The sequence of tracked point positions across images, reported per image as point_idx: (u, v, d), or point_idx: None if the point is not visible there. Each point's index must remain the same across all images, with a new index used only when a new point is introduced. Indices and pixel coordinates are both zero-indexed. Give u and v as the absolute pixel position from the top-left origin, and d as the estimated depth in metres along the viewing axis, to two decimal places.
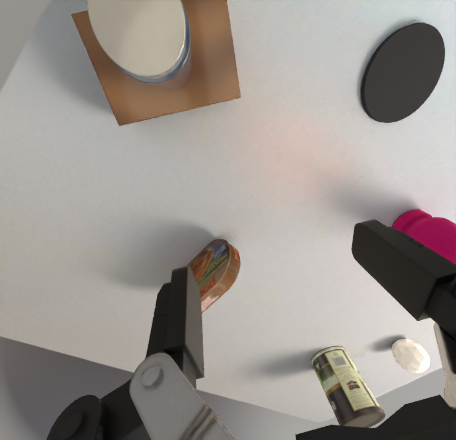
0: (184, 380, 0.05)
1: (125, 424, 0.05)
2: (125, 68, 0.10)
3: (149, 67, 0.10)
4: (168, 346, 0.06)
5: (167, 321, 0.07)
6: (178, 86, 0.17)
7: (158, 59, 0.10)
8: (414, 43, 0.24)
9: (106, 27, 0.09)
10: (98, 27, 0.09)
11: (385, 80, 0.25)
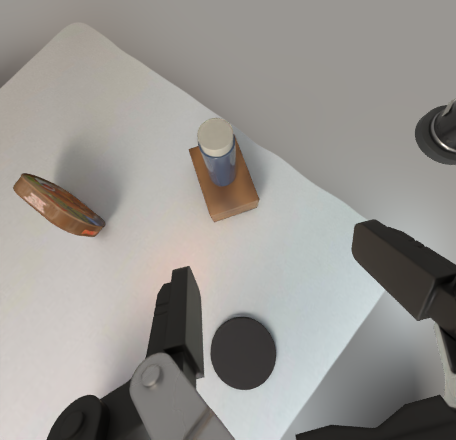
0: (184, 380, 0.05)
1: (125, 424, 0.05)
2: (199, 128, 0.24)
3: (200, 137, 0.23)
4: (168, 346, 0.06)
5: (167, 321, 0.07)
6: (209, 175, 0.31)
7: (203, 140, 0.23)
8: (263, 349, 0.32)
9: (211, 123, 0.24)
10: (210, 120, 0.24)
11: (238, 336, 0.33)
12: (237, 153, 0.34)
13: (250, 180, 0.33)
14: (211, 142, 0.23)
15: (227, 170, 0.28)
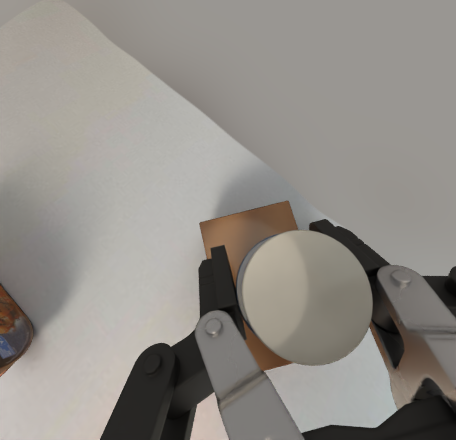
0: (240, 340, 0.06)
1: (191, 380, 0.06)
2: (249, 265, 0.07)
3: (253, 300, 0.07)
4: (222, 306, 0.07)
5: (216, 287, 0.08)
6: None
7: (265, 316, 0.06)
8: None
9: (292, 248, 0.07)
10: (290, 239, 0.07)
11: None
12: None
13: None
14: (293, 328, 0.06)
15: None
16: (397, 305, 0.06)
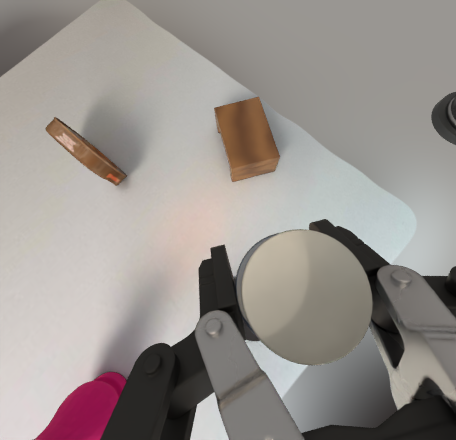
0: (241, 340, 0.06)
1: (191, 381, 0.06)
2: (249, 264, 0.07)
3: (253, 300, 0.07)
4: (222, 306, 0.07)
5: (216, 287, 0.08)
6: None
7: (264, 316, 0.06)
8: None
9: (292, 248, 0.07)
10: (290, 238, 0.07)
11: None
12: (261, 114, 0.35)
13: (272, 139, 0.34)
14: (293, 328, 0.06)
15: None
16: (397, 305, 0.06)
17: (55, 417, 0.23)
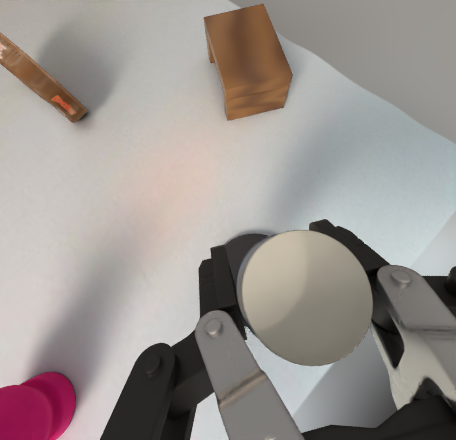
0: (240, 340, 0.06)
1: (191, 381, 0.06)
2: (249, 265, 0.07)
3: (253, 301, 0.06)
4: (222, 306, 0.07)
5: (216, 287, 0.08)
6: None
7: (264, 316, 0.06)
8: None
9: (292, 248, 0.07)
10: (290, 239, 0.07)
11: None
12: (266, 23, 0.26)
13: (282, 53, 0.25)
14: (293, 329, 0.06)
15: None
16: (397, 305, 0.06)
17: None
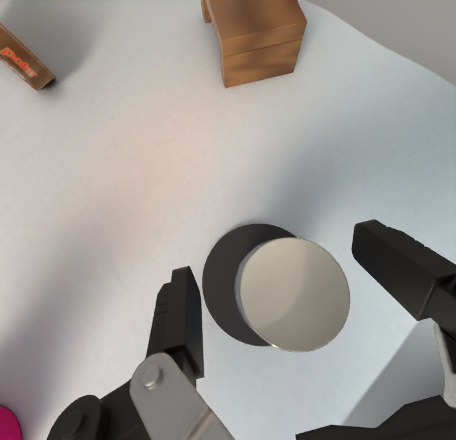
0: (184, 380, 0.05)
1: (125, 424, 0.05)
2: (246, 267, 0.08)
3: (249, 298, 0.08)
4: (168, 346, 0.06)
5: (167, 321, 0.07)
6: None
7: (259, 311, 0.08)
8: None
9: (282, 253, 0.08)
10: (281, 245, 0.08)
11: None
12: None
13: None
14: (283, 321, 0.07)
15: None
16: None
17: None
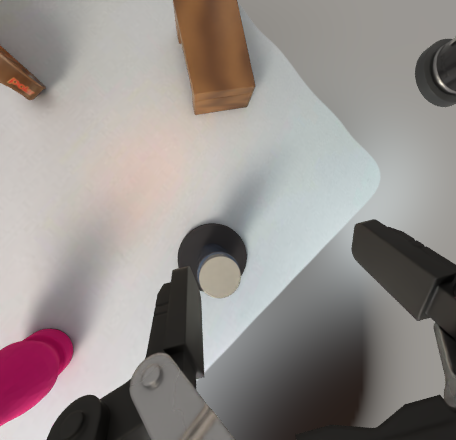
0: (184, 380, 0.05)
1: (125, 424, 0.05)
2: (202, 268, 0.20)
3: (202, 280, 0.20)
4: (168, 346, 0.06)
5: (167, 321, 0.07)
6: None
7: (206, 284, 0.20)
8: (234, 256, 0.31)
9: (217, 263, 0.20)
10: (216, 259, 0.20)
11: (210, 241, 0.30)
12: (236, 20, 0.27)
13: (248, 60, 0.27)
14: (214, 288, 0.20)
15: None
16: None
17: None
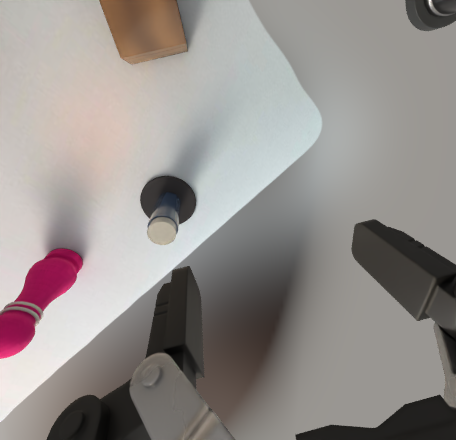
0: (184, 380, 0.05)
1: (125, 424, 0.05)
2: (148, 229, 0.30)
3: (150, 235, 0.30)
4: (168, 346, 0.06)
5: (167, 321, 0.07)
6: None
7: (153, 238, 0.30)
8: (186, 201, 0.40)
9: (158, 225, 0.30)
10: (157, 223, 0.29)
11: (165, 191, 0.38)
12: None
13: (175, 5, 0.23)
14: (159, 239, 0.31)
15: None
16: None
17: (26, 284, 0.34)
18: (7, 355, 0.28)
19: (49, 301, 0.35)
